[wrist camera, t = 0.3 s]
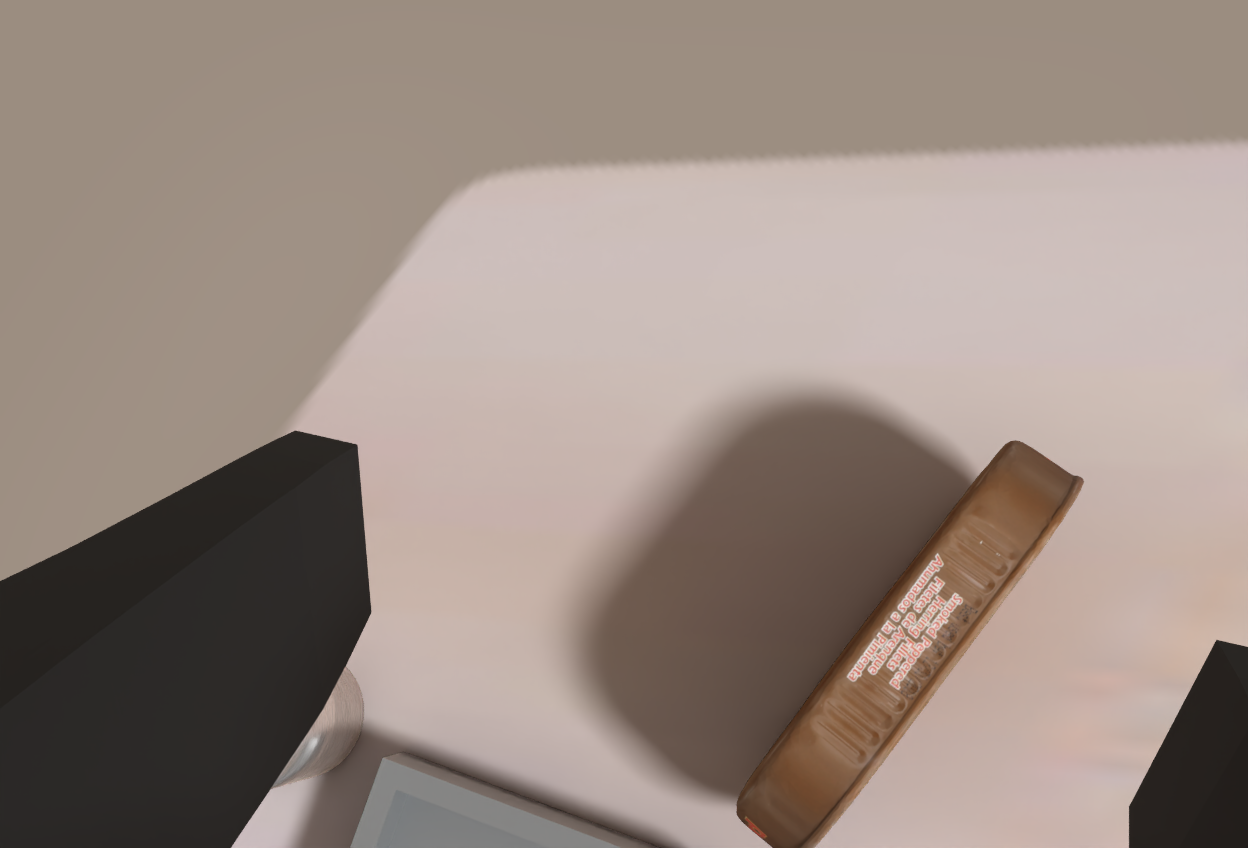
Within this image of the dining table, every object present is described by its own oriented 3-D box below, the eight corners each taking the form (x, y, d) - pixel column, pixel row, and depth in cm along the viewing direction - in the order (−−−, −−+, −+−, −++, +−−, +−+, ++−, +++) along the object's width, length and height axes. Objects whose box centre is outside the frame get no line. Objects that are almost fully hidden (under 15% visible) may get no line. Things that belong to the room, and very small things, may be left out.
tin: (790, 850, 38) (808, 903, 30) (717, 788, 39) (715, 823, 30) (1048, 506, 40) (1133, 466, 31) (974, 453, 40) (1038, 400, 32)
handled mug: (336, 796, 40) (255, 825, 33) (186, 738, 40) (77, 755, 34) (381, 674, 40) (312, 677, 34) (233, 620, 41) (136, 612, 34)
